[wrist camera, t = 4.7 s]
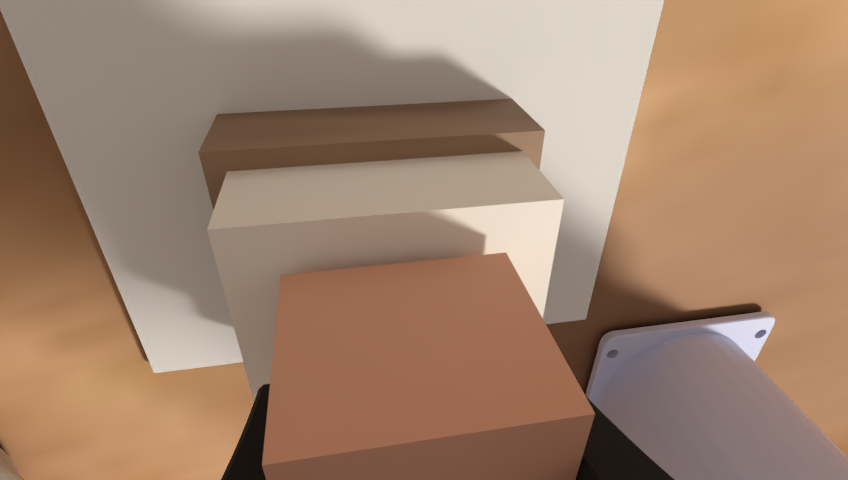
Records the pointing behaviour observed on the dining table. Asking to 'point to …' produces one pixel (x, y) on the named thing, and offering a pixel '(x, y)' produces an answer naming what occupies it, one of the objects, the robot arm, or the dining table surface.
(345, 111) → the walnut base block
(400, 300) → the terracotta block
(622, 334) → the robot arm
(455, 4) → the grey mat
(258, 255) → the cream block
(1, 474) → the teacup
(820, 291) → the dining table surface
